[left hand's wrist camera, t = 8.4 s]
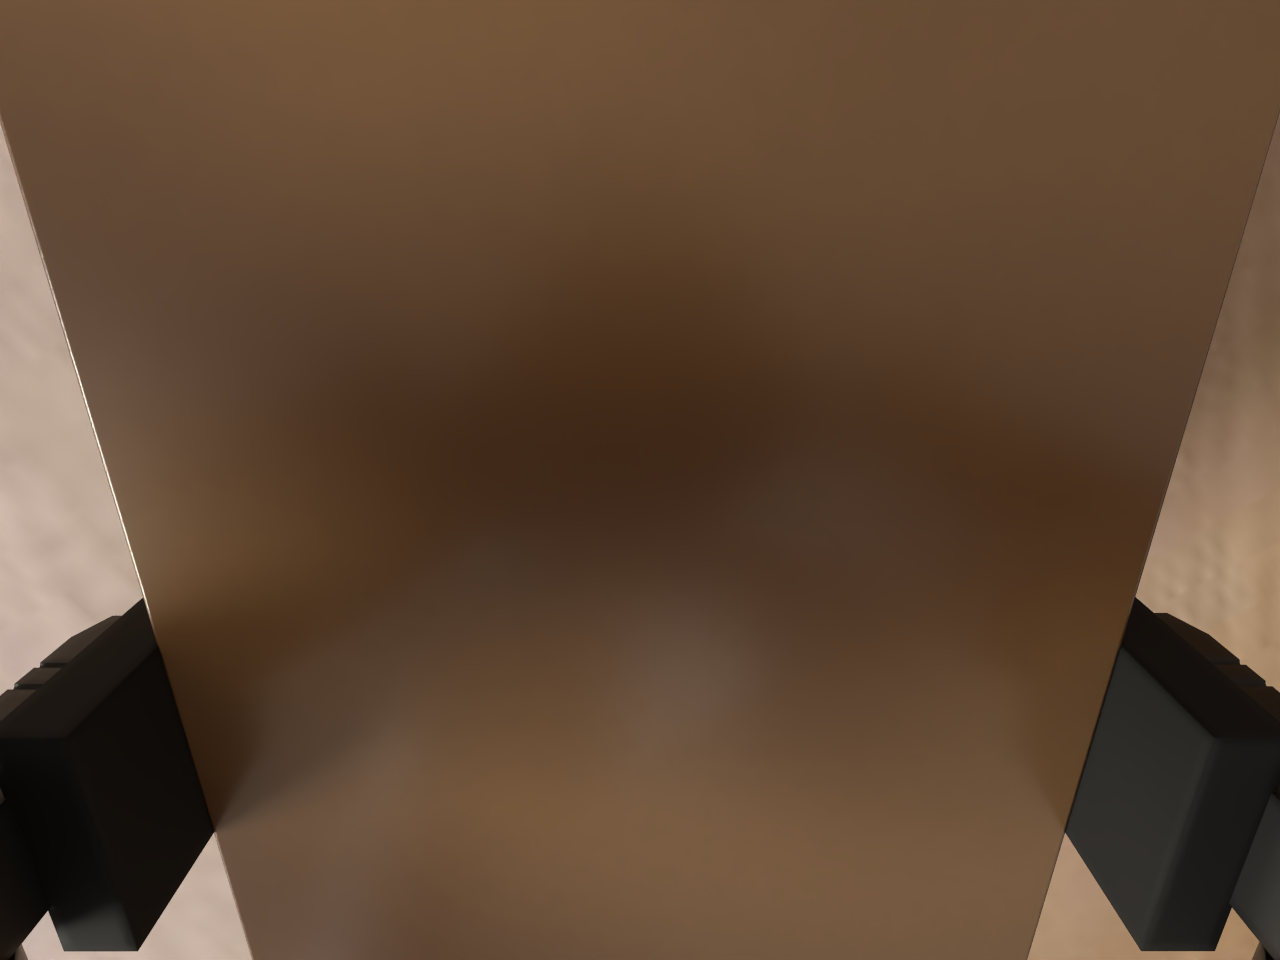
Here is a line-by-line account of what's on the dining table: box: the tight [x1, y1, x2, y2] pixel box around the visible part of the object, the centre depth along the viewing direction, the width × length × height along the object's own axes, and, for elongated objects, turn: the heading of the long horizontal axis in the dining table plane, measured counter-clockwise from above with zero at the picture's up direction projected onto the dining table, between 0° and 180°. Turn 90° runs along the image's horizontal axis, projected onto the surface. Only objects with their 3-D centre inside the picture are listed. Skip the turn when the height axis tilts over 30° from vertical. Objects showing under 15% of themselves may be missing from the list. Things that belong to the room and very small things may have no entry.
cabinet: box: [0, 0, 1280, 960], centre depth 12 cm, size 18×10×11 cm, turn 0°
